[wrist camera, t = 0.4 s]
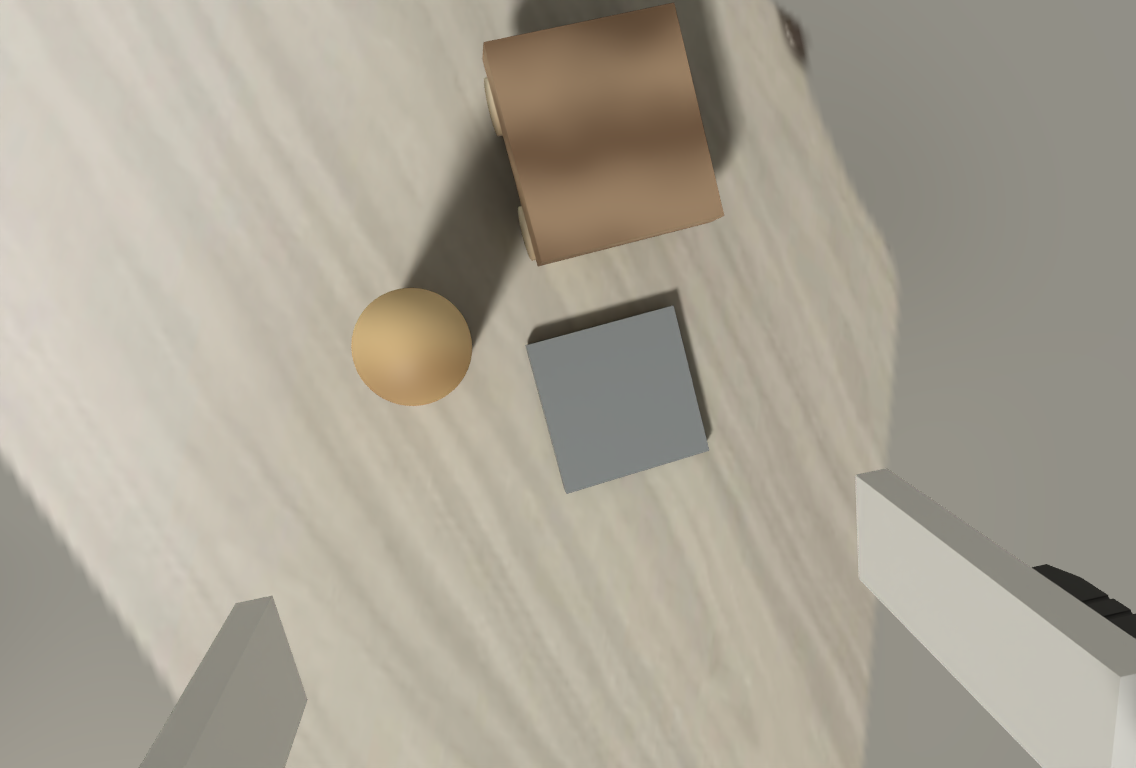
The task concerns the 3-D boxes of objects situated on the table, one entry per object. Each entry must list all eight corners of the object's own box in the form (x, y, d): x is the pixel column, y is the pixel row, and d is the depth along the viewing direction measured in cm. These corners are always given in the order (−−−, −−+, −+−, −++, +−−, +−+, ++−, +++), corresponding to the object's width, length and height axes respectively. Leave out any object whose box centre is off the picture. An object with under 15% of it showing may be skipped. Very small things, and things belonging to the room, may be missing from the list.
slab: (481, 81, 38) (483, 42, 33) (647, 44, 39) (674, 2, 34) (532, 271, 39) (541, 262, 34) (692, 230, 40) (724, 215, 35)
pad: (525, 345, 39) (526, 345, 38) (669, 306, 40) (673, 305, 40) (564, 490, 40) (566, 493, 39) (704, 448, 41) (709, 450, 40)
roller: (369, 313, 38) (336, 304, 28) (456, 291, 38) (453, 274, 28) (395, 398, 38) (371, 419, 28) (480, 375, 39) (485, 387, 29)
